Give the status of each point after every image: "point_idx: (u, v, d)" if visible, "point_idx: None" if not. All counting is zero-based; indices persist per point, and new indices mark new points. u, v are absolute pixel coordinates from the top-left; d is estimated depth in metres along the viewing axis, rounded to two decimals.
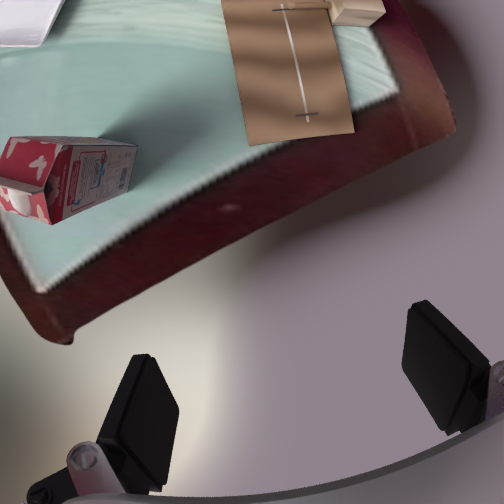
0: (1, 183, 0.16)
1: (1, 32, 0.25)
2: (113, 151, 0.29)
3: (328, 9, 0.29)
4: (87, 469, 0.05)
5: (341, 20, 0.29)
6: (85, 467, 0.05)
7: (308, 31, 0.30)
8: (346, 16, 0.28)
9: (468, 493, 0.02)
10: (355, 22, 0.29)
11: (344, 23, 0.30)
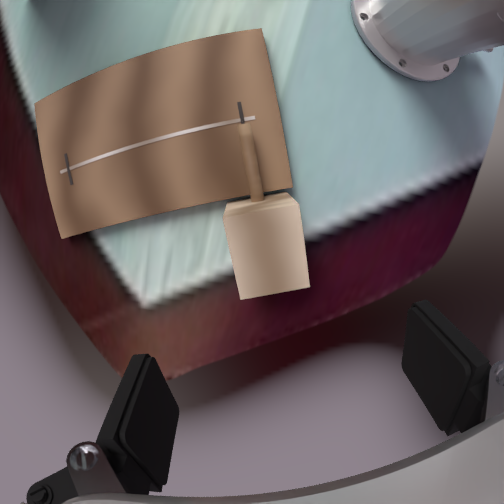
0: None
1: None
2: None
3: None
4: (87, 469, 0.05)
5: None
6: (85, 467, 0.05)
7: (200, 162, 0.23)
8: None
9: (468, 493, 0.02)
10: None
11: None
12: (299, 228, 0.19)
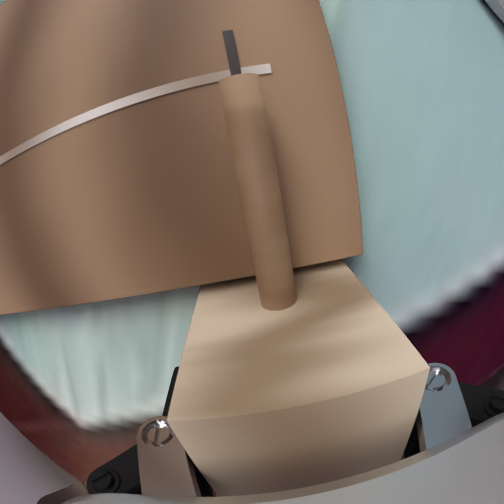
0: None
1: None
2: None
3: None
4: (158, 444, 0.06)
5: None
6: (155, 442, 0.06)
7: (125, 191, 0.08)
8: None
9: (468, 493, 0.02)
10: None
11: None
12: (407, 421, 0.05)
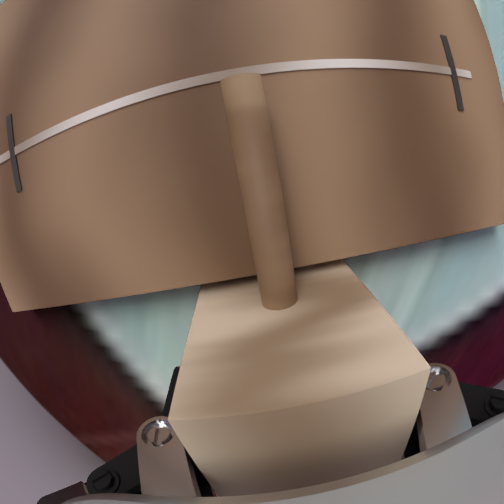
0: None
1: None
2: None
3: None
4: (157, 444, 0.06)
5: None
6: (155, 442, 0.06)
7: (375, 146, 0.08)
8: None
9: (468, 493, 0.02)
10: None
11: None
12: (407, 420, 0.05)
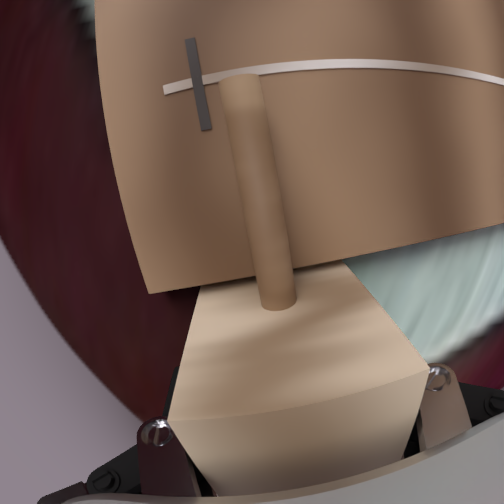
0: None
1: None
2: None
3: None
4: (157, 444, 0.06)
5: None
6: (156, 442, 0.06)
7: None
8: None
9: (468, 493, 0.02)
10: None
11: None
12: (407, 421, 0.05)
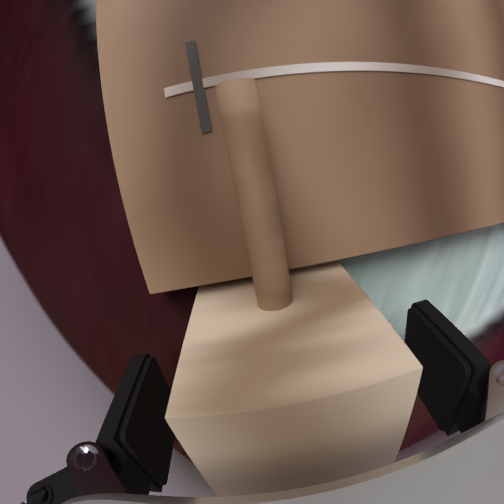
0: None
1: None
2: None
3: None
4: (87, 469, 0.05)
5: None
6: (85, 467, 0.05)
7: None
8: None
9: (468, 493, 0.02)
10: None
11: None
12: (401, 419, 0.05)
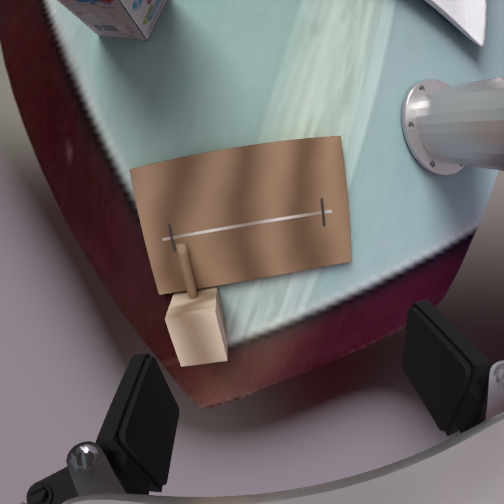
0: None
1: None
2: (119, 10, 0.17)
3: None
4: (87, 469, 0.05)
5: None
6: (85, 467, 0.05)
7: (290, 242, 0.31)
8: None
9: (468, 493, 0.02)
10: None
11: None
12: (216, 326, 0.28)
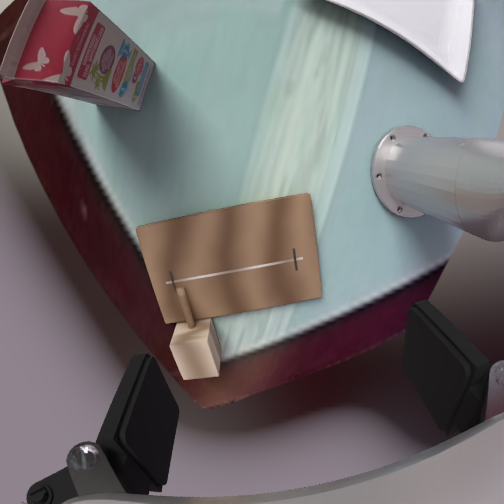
0: (20, 25, 0.10)
1: None
2: (108, 101, 0.24)
3: None
4: (87, 469, 0.05)
5: None
6: (85, 467, 0.05)
7: (268, 284, 0.39)
8: None
9: (468, 493, 0.02)
10: None
11: None
12: (208, 351, 0.36)
